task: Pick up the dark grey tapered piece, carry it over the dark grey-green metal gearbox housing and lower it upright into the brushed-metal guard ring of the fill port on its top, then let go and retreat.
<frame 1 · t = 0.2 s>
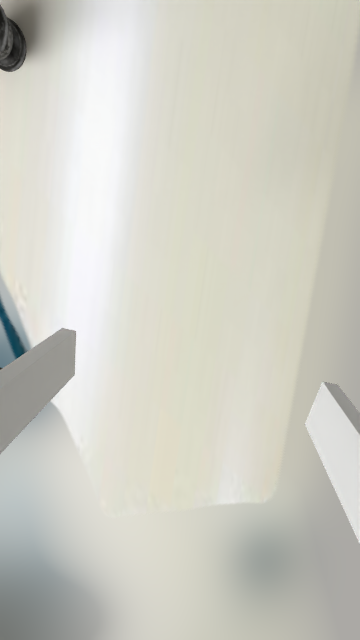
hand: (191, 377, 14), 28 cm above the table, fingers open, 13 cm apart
dark grey tapered piece: (7, 46, 34), on the table
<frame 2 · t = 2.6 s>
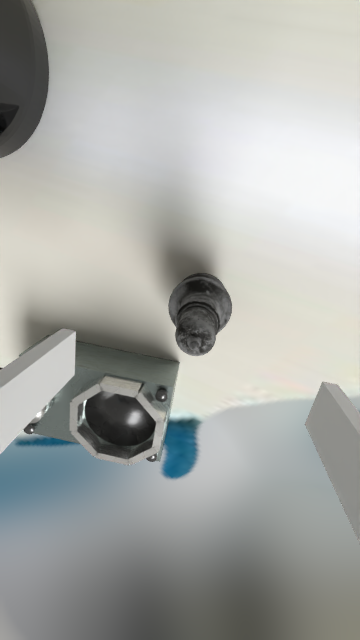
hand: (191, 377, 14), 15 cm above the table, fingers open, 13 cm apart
gearbox: (109, 384, 33), on the table
dark grey tapered piece: (201, 297, 28), on the table
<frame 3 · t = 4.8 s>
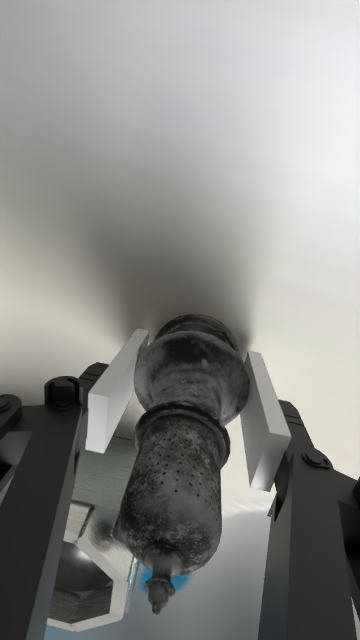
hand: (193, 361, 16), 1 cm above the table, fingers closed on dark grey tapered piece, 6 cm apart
gearbox: (57, 472, 22), on the table
dark grey tapered piece: (195, 352, 17), on the table, touching gripper
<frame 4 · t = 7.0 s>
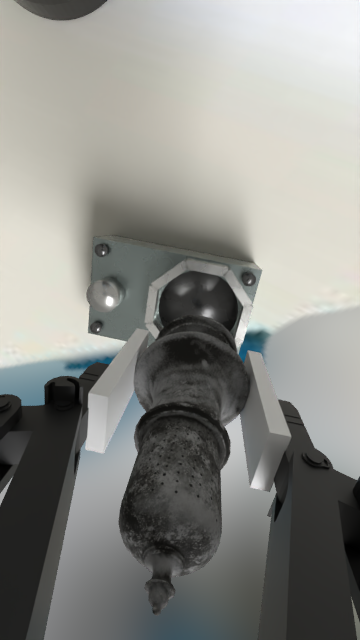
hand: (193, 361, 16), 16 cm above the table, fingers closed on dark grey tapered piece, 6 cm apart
gearbox: (174, 292, 31), on the table
dark grey tapered piece: (195, 353, 17), point 15 cm above the table, touching gripper
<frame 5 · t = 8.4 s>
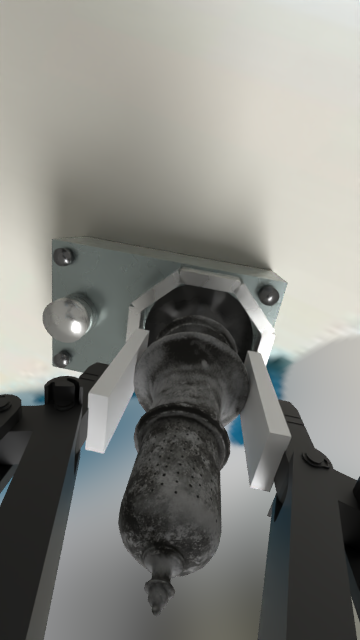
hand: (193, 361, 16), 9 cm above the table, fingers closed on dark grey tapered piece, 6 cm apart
gearbox: (167, 308, 24), on the table
dark grey tapered piece: (194, 353, 17), point 8 cm above the table, touching gripper
when the fingers open (8 cm above the table, at t = 9.1 s): dark grey tapered piece drops 2 cm, resting on gearbox.
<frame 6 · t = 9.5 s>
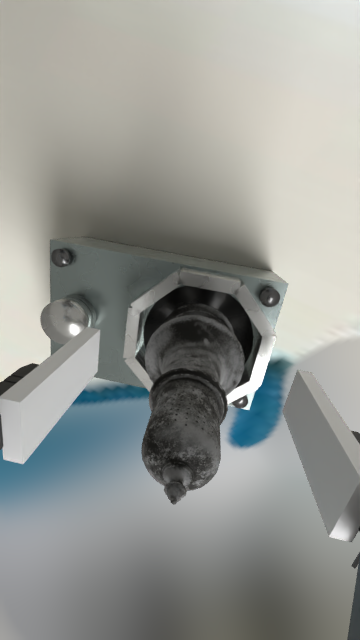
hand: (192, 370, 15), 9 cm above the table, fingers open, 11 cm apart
gearbox: (167, 310, 24), on the table
dark grey tapered piece: (197, 338, 19), point 5 cm above the table, touching gearbox
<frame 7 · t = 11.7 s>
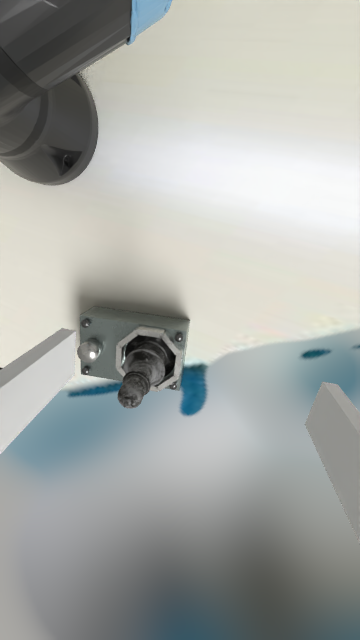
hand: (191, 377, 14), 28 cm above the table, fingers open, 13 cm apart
gearbox: (139, 340, 45), on the table
dark grey tapered piece: (150, 356, 40), point 5 cm above the table, touching gearbox
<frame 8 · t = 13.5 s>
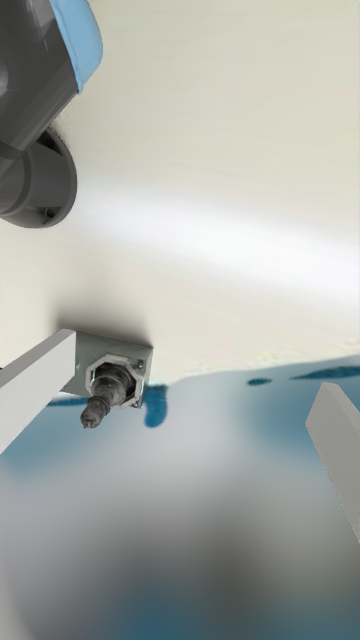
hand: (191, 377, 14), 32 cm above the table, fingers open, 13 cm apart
gearbox: (109, 362, 52), on the table
dark grey tapered piece: (116, 379, 47), point 5 cm above the table, touching gearbox
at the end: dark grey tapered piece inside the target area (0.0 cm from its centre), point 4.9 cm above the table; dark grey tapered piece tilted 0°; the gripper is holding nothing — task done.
